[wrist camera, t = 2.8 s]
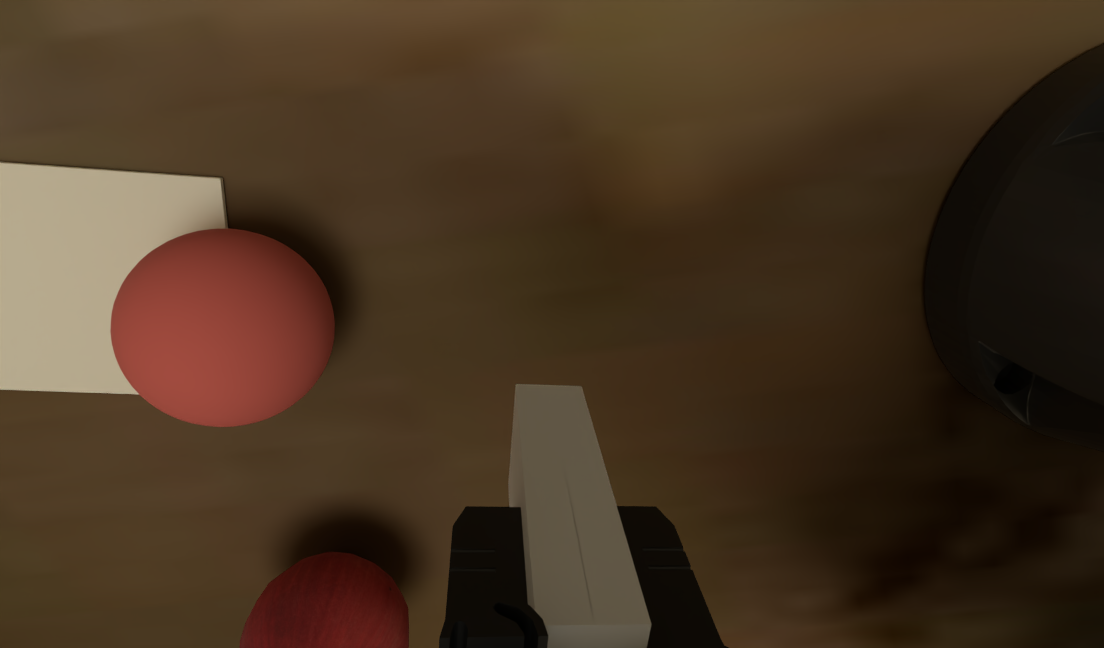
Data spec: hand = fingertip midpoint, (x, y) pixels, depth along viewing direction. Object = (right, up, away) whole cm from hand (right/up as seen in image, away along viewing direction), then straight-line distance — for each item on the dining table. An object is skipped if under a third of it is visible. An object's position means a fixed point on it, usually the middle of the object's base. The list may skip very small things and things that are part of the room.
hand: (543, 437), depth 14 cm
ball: (-10, +2, +5) cm, 11 cm away
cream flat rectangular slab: (-17, +4, +7) cm, 19 cm away
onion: (-8, -8, +12) cm, 17 cm away
